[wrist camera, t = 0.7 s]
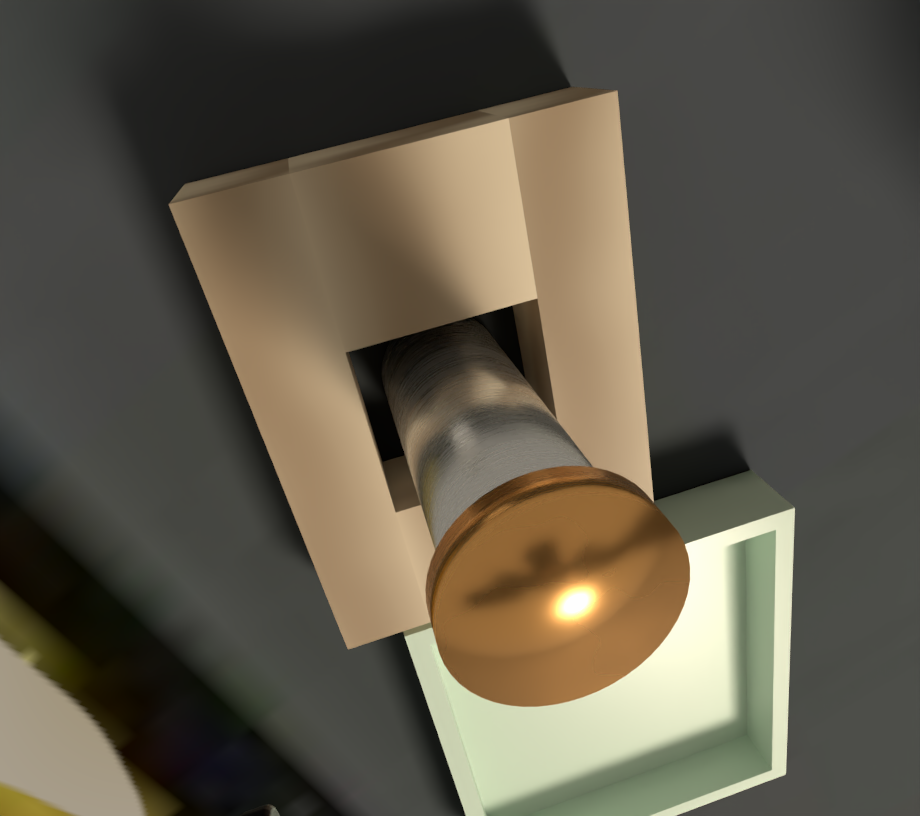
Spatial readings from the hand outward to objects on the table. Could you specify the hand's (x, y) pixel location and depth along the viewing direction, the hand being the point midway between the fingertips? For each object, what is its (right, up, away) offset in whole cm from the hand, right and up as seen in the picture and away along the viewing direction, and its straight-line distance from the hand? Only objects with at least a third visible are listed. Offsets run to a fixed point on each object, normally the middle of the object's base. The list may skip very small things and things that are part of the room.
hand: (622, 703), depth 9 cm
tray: (+3, -5, +16) cm, 17 cm away
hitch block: (-3, +5, +10) cm, 11 cm away
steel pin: (-3, +5, +10) cm, 11 cm away
